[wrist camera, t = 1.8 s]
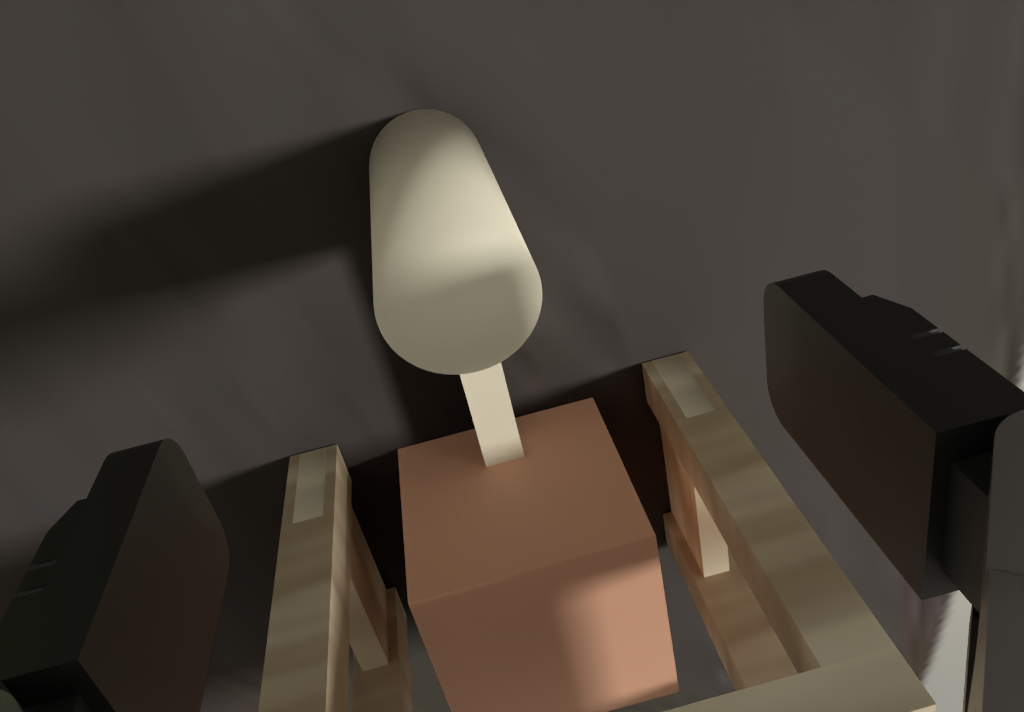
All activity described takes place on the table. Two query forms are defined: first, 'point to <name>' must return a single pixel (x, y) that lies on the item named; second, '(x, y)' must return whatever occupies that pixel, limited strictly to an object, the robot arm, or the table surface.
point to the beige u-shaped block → (694, 546)
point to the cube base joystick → (504, 459)
